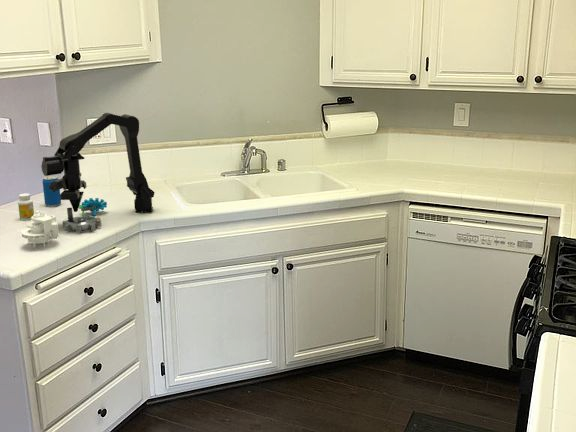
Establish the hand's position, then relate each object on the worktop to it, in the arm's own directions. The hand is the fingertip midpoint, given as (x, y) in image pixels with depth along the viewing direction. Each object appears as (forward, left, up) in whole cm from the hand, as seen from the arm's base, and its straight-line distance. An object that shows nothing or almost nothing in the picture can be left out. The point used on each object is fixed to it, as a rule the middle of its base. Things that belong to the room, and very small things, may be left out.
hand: (75, 211), depth 247 cm
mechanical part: (+8, +22, -5) cm, 24 cm away
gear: (-4, -14, -5) cm, 15 cm away
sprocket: (-3, +6, -5) cm, 8 cm away
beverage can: (+15, -28, -5) cm, 32 cm away
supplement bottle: (+21, -10, -5) cm, 24 cm away
